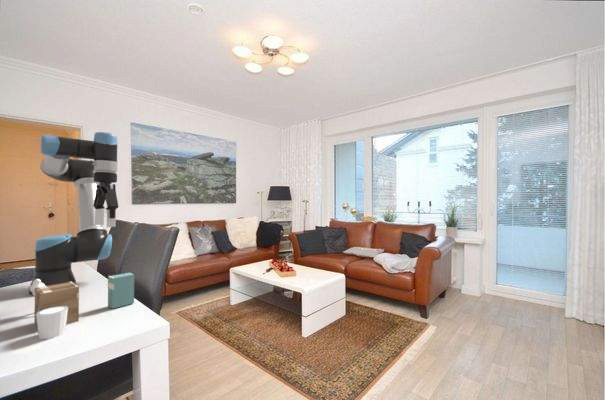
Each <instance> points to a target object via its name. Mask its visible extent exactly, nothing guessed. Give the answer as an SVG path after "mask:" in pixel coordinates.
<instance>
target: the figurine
mask: <svg viewBox="0 0 605 400" xmlns="http://www.w3.org/2000/svg"><path fill="white" fill-rule="evenodd" d="M42 286H45V284H44V283H42V282H41V280H40V279H35V280H34V281H33V284H32V285H31V286H30V285H29V287H30V291H31V292H32V293H33V295H32V296H33V297H34V298H35V288H38V287H42ZM33 312H34V315H33V316H34V317H35V311H33Z"/></svg>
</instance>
